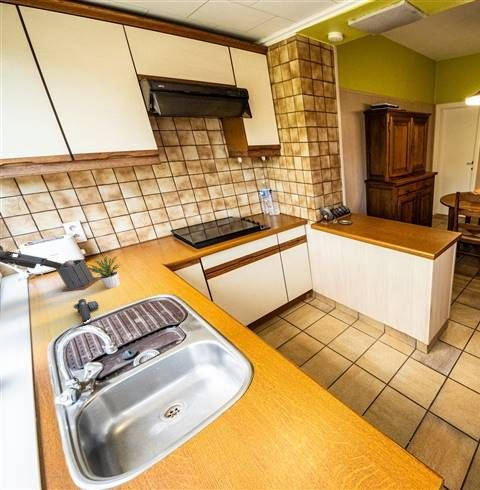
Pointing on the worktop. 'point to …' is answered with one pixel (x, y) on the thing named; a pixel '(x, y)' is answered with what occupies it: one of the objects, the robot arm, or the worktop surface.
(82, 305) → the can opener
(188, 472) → the worktop surface
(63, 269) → the grey ribbed cylinder
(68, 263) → the tape stand
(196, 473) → the worktop surface
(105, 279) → the house plant
